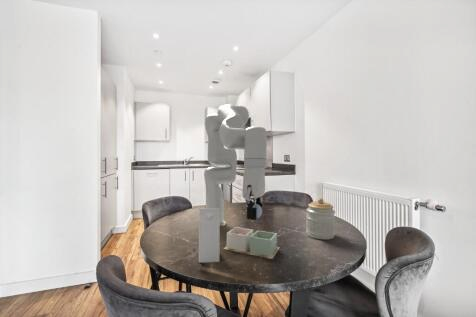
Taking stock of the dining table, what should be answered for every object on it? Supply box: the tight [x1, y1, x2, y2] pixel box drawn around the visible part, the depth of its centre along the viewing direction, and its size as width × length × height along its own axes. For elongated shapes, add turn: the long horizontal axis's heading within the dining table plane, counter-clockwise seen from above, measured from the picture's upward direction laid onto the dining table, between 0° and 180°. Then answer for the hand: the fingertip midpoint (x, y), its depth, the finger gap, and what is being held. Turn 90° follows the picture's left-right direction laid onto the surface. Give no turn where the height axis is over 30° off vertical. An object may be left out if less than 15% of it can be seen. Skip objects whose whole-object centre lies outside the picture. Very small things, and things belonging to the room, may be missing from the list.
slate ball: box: [255, 204, 263, 219], centre depth 77 cm, size 5×5×5 cm
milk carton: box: [198, 207, 221, 266], centre depth 81 cm, size 7×7×19 cm
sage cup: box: [250, 230, 278, 257], centre depth 88 cm, size 8×8×6 cm
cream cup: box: [226, 226, 254, 252], centre depth 92 cm, size 8×8×6 cm
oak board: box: [222, 245, 281, 260], centre depth 90 cm, size 20×11×1 cm, turn 65°
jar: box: [305, 198, 336, 241], centre depth 108 cm, size 13×13×18 cm
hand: (254, 216), depth 77 cm, fingers closed on slate ball, 4 cm apart
